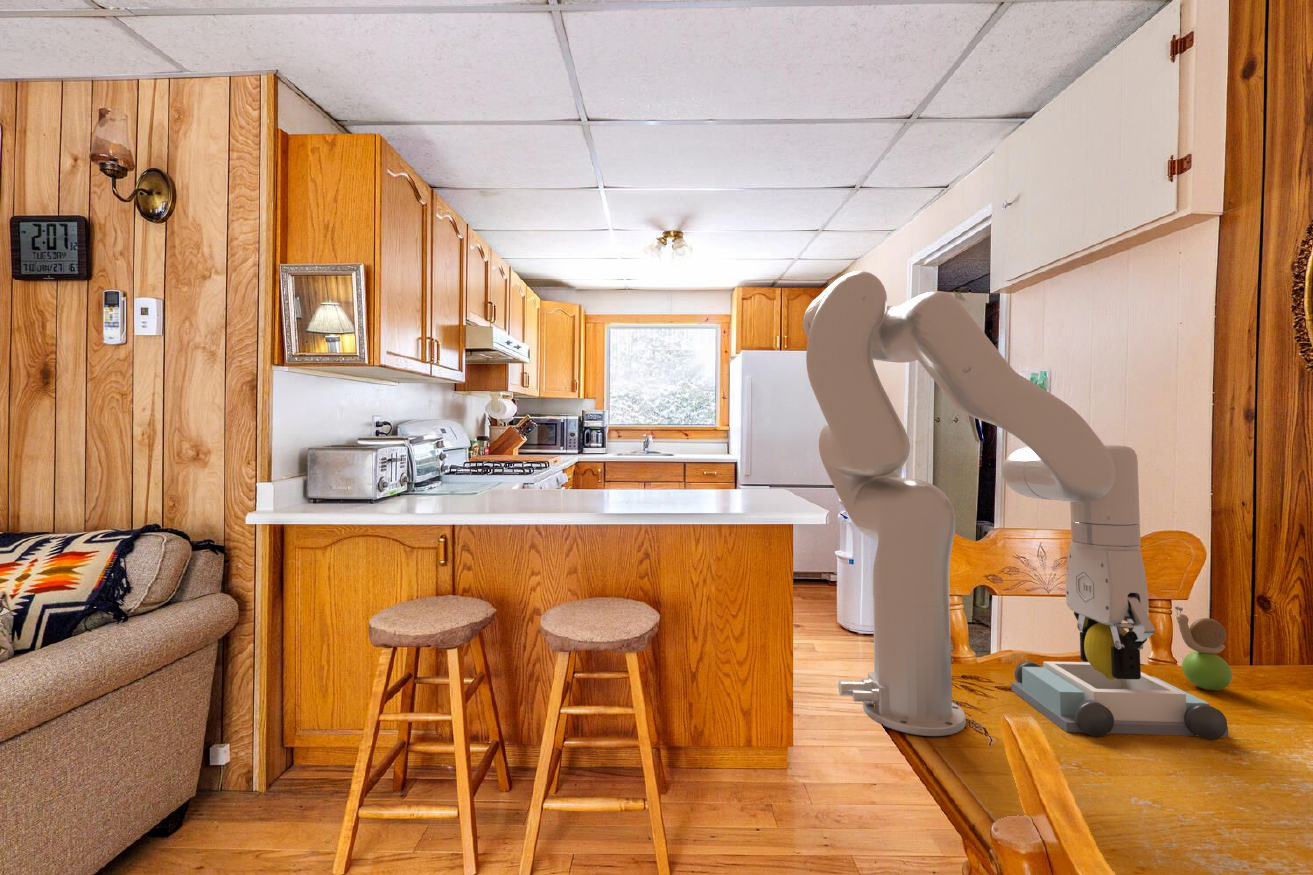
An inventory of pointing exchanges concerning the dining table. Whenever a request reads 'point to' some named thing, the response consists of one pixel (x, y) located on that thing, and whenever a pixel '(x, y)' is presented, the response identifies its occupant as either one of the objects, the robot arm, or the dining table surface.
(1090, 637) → the lemon
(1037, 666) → the chassis
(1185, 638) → the snail figurine
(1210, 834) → the dining table surface
